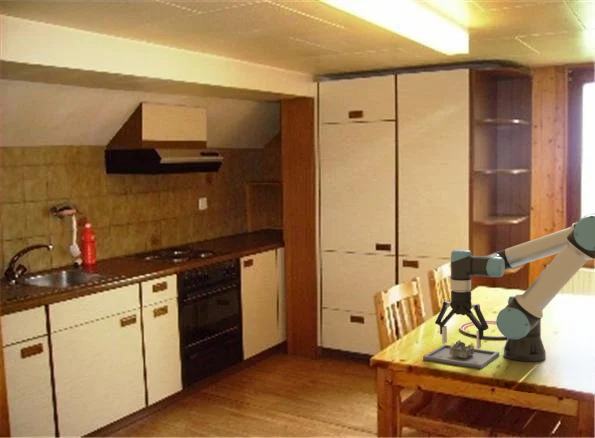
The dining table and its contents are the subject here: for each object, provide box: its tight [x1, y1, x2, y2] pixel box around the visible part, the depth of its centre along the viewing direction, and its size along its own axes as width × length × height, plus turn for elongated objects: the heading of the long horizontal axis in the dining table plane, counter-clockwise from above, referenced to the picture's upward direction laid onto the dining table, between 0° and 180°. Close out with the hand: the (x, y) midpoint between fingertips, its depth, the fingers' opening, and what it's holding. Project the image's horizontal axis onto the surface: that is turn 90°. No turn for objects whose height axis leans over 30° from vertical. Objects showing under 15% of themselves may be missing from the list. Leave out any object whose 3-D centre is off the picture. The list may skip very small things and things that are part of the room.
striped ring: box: [459, 320, 507, 339], centre depth 274 cm, size 27×27×3 cm
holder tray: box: [422, 343, 500, 370], centre depth 238 cm, size 22×20×2 cm
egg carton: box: [448, 340, 476, 358], centre depth 239 cm, size 11×8×4 cm
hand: (461, 345), depth 238 cm, fingers open, 13 cm apart
